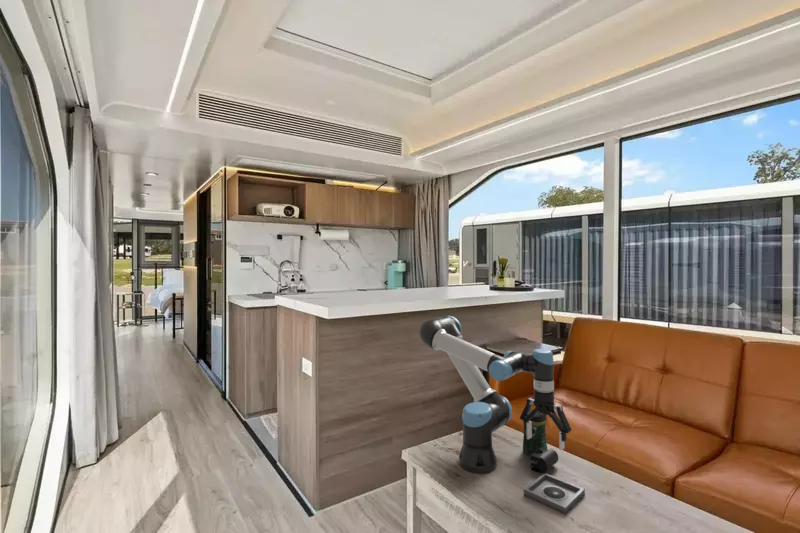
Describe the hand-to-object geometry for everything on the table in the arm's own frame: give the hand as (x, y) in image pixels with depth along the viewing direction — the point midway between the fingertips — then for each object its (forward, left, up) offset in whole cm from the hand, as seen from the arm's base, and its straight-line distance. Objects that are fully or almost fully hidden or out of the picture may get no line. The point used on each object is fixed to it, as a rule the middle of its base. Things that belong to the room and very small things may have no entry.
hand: (545, 443), depth 163 cm
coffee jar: (-9, +9, -11) cm, 17 cm away
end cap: (0, 0, -11) cm, 11 cm away
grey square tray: (+11, -14, -10) cm, 20 cm away
